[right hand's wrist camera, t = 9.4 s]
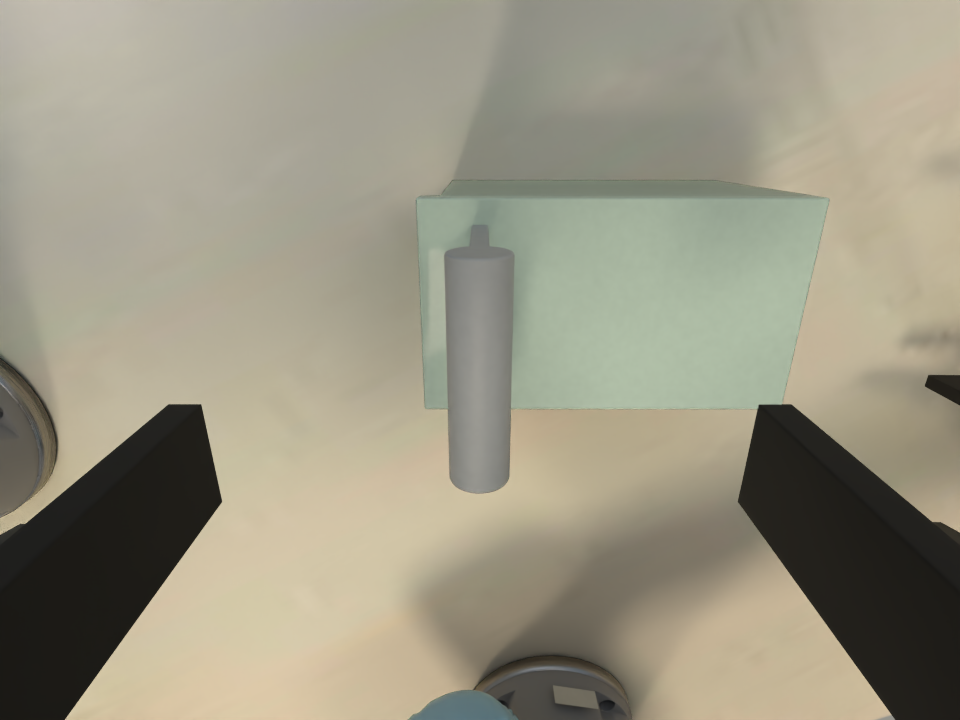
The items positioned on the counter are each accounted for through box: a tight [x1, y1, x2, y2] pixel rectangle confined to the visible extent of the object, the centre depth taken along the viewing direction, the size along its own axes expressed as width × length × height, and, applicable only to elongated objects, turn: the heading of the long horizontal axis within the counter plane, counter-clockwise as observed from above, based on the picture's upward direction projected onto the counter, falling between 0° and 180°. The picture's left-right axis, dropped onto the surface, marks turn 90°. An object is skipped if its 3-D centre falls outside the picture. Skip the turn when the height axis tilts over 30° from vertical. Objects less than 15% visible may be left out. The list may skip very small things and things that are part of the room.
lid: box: [416, 196, 829, 493], centre depth 21 cm, size 17×10×9 cm, turn 90°
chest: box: [441, 180, 812, 196], centre depth 30 cm, size 16×10×11 cm, turn 90°
